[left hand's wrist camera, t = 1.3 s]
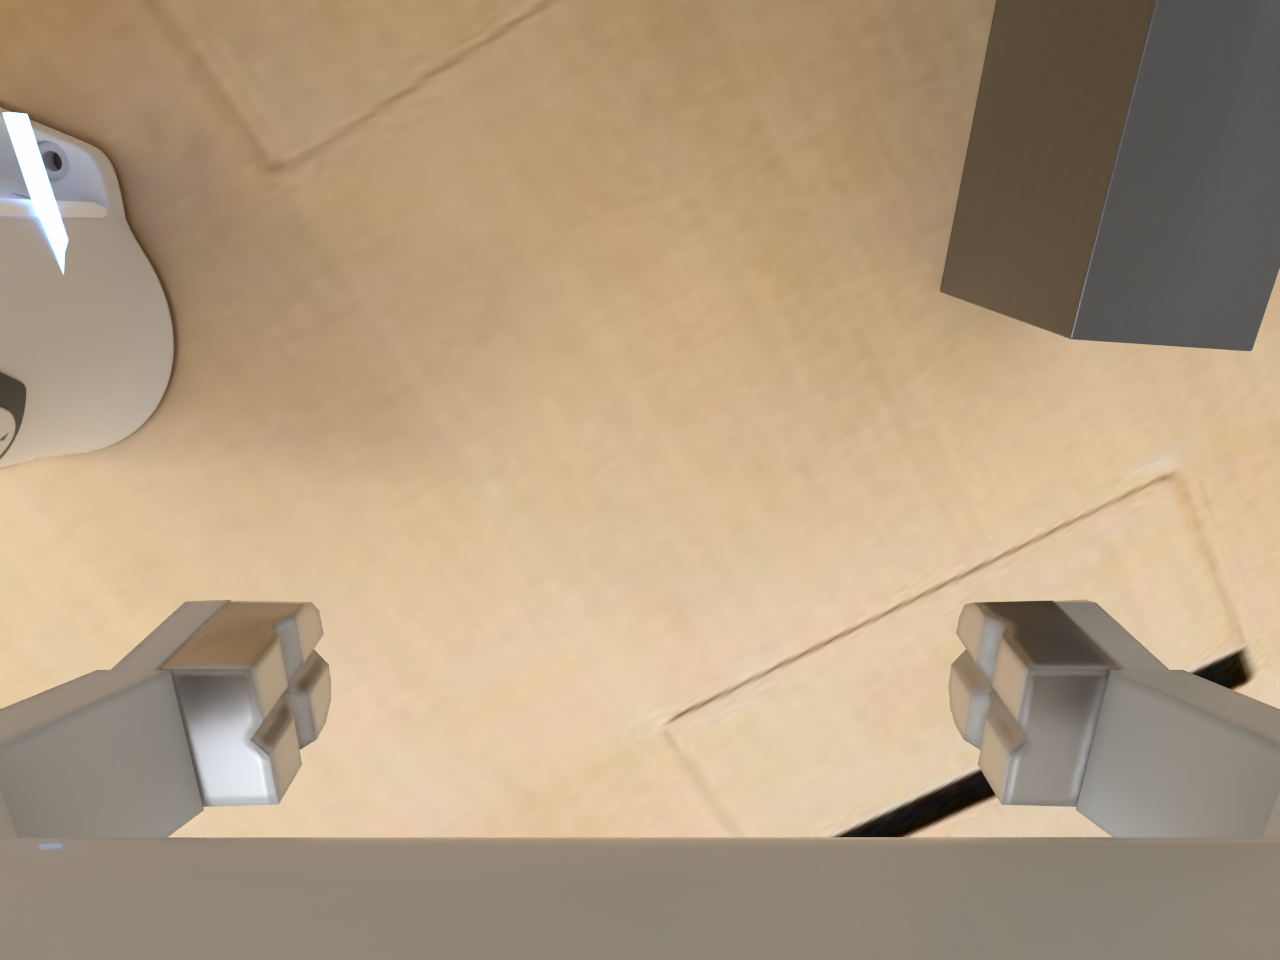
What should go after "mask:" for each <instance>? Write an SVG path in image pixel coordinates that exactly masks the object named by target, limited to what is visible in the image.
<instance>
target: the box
mask: <svg viewBox="0 0 1280 960" xmlns="http://www.w3.org/2000/svg"><path fill="white" fill-rule="evenodd" d="M1279 268H1280V0H997V1H996V6H995V11H994V16H993V21H992V27H991V32H990V37H989V42H988V47H987V52H986V57H985V63H984V68H983V73H982V78H981V83H980V88H979V94H978V99H977V104H976V109H975V114H974V119H973V124H972V130H971V135H970V140H969V145H968V150H967V155H966V161H965V166H964V171H963V176H962V181H961V186H960V192H959V197H958V202H957V207H956V212H955V217H954V222H953V228H952V233H951V238H950V243H949V248H948V253H947V259H946V264H945V269H944V274H943V279H942V284H941V289H940V292H942V293H945V294H948V295H950V296H953V297H956V298H959V299H961V300H964V301H967V302H970V303H973V304H975V305H978V306H981V307H984V308H986V309H989V310H992V311H995V312H997V313H1000V314H1003V315H1006V316H1008V317H1011V318H1014V319H1017V320H1020V321H1022V322H1025V323H1028V324H1031V325H1033V326H1036V327H1039V328H1042V329H1044V330H1047V331H1050V332H1053V333H1055V334H1058V335H1061V336H1064V337H1067V338H1069V339H1076V340H1091V341H1106V342H1121V343H1136V344H1150V345H1165V346H1180V347H1195V348H1210V349H1225V350H1240V351H1251V350H1252V349H1253V346H1254V343H1255V340H1256V337H1257V334H1258V331H1259V328H1260V325H1261V322H1262V319H1263V316H1264V313H1265V310H1266V307H1267V304H1268V301H1269V298H1270V295H1271V292H1272V289H1273V286H1274V283H1275V280H1276V277H1277V274H1278V271H1279Z"/></svg>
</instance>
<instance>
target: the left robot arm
mask: <svg viewBox="0 0 1280 960" xmlns="http://www.w3.org/2000/svg"><path fill="white" fill-rule="evenodd" d="M55 153H57V154H58V155H59V156H60V158H61V161H62V167H61V169H60V170H59V169H58V168H57V167H56V166H55V164H54V161H53V158H54V155H55ZM173 357H174V335H173V326H172V319H171V315H170V310H169V306H168V303H167V300H166V297H165V294H164V291H163V288H162V286H161V283H160V281H159V279H158V277H157V275H156V273H155V271H154V269H153V267H152V265H151V263H150V262H149V260H148V258H147V257H146V255H145V253H144V252H143V250H142V248H141V247H140V245H139V244H138V242H137V240H136V239H135V237H134V235H133V233H132V231H131V229H130V227H129V225H128V222H127V220H126V216H125V210H124V205H123V200H122V195H121V190H120V186H119V182H118V179H117V176H116V173H115V170H114V168H113V165H112V163H111V162H110V160H109V159H108V157H107V156H106V155H105V154H104V153H103V152H102V151H101V150H100V149H98V148H97V147H95V146H93V145H91V144H89V143H86V142H84V141H82V140H79V139H77V138H74V137H72V136H69V135H67V134H65V133H62V132H60V131H57V130H55V129H52V128H50V127H48V126H45V125H43V124H40V123H38V122H36V121H33V120H31V119H29V118H28V115H27V114H23V113H14V112H11V111H9V110H6V109H4V108H2V107H0V467H4V466H8V465H12V464H17V463H22V462H26V461H31V460H36V459H41V458H47V457H54V456H61V455H72V454H80V453H87V452H92V451H96V450H100V449H103V448H106V447H108V446H111V445H114V444H116V443H118V442H120V441H122V440H123V439H125V438H127V437H128V436H130V435H131V434H132V433H134V432H135V431H136V430H138V429H139V428H140V427H141V426H142V425H143V424H144V423H145V422H146V421H147V420H148V419H149V418H150V416H151V415H152V414H153V412H154V411H155V410H156V408H157V406H158V405H159V403H160V401H161V400H162V398H163V396H164V393H165V391H166V388H167V386H168V383H169V379H170V375H171V371H172V365H173ZM323 634H324V633H323V628H322V623H321V618H320V613H319V610H318V609H317V608H316V607H315V606H314V604H313V603H312V602H268V601H230V600H210V601H191V602H185V603H183V604H182V605H181V606H180V607H179V608H178V609H177V610H176V611H175V612H174V613H173V614H171V615H170V616H169V617H168V618H167V619H166V620H165V621H164V622H163V623H162V624H160V625H159V626H158V627H157V628H156V629H155V630H154V631H153V632H152V633H151V634H149V635H148V636H147V637H146V638H145V639H144V640H143V641H142V642H141V643H140V644H139V645H137V646H136V647H135V648H134V649H133V650H132V651H131V652H130V653H129V654H128V655H126V656H125V657H124V658H123V659H122V660H121V661H120V662H119V663H118V664H117V665H115V666H114V667H113V668H112V669H111V670H96V671H94V672H91V673H89V674H86V675H84V676H81V677H79V678H76V679H74V680H72V681H69V682H67V683H64V684H62V685H59V686H57V687H54V688H52V689H49V690H47V691H44V692H42V693H40V694H37V695H35V696H32V697H30V698H27V699H25V700H22V701H20V702H17V703H15V704H12V705H10V706H7V707H5V708H3V709H0V960H1280V709H1277V708H1275V707H1272V706H1270V705H1267V704H1265V703H1262V702H1260V701H1258V700H1255V699H1253V698H1250V697H1248V696H1245V695H1243V694H1240V693H1238V692H1235V691H1233V690H1231V689H1228V688H1226V687H1223V686H1221V685H1218V684H1216V683H1213V682H1211V681H1208V680H1206V679H1203V678H1201V677H1199V676H1196V675H1194V674H1191V673H1189V672H1186V671H1184V670H1169V669H1168V668H1167V667H1166V666H1165V665H1163V664H1162V663H1161V662H1160V661H1159V660H1158V659H1157V658H1156V657H1155V656H1154V655H1153V654H1151V653H1150V652H1149V651H1148V650H1147V649H1146V648H1145V647H1144V646H1143V645H1142V644H1141V643H1139V642H1138V641H1137V640H1136V639H1135V638H1134V637H1133V636H1132V635H1131V634H1130V633H1129V632H1127V631H1126V630H1125V629H1124V628H1123V627H1122V626H1121V625H1120V624H1119V623H1118V622H1116V621H1115V620H1114V619H1113V618H1112V617H1111V616H1110V615H1109V614H1108V613H1107V612H1106V611H1104V610H1103V609H1102V608H1101V607H1100V606H1099V605H1098V604H1097V603H1094V602H1091V601H1088V600H1070V601H1021V602H979V603H969V604H965V605H964V607H963V610H962V612H961V614H960V616H959V622H958V628H957V633H956V634H957V636H958V637H959V639H960V640H961V642H962V643H963V645H964V646H965V648H966V650H965V651H964V652H963V653H962V654H961V655H960V656H959V657H958V658H957V659H956V660H955V661H954V663H953V664H952V665H951V673H950V681H949V697H950V707H951V712H952V715H953V718H954V721H955V725H956V727H957V728H958V730H959V732H960V734H961V736H962V738H963V739H964V740H965V741H967V742H969V743H970V744H972V745H973V746H975V747H977V748H978V749H980V756H979V762H978V765H979V767H980V769H981V770H982V772H983V774H984V775H985V777H986V779H987V781H988V782H989V784H990V786H991V787H992V789H993V791H994V792H995V794H996V796H997V797H998V799H999V801H1000V803H1001V804H1002V805H1035V806H1072V807H1077V808H1076V810H1077V811H1078V812H1080V813H1081V814H1082V815H1084V816H1085V817H1086V818H1088V819H1089V820H1090V821H1092V822H1093V823H1094V824H1096V825H1097V826H1098V827H1100V828H1101V829H1102V830H1104V831H1105V832H1106V833H1108V834H1109V835H1110V836H1112V837H1038V838H1037V837H1036V838H167V837H168V836H170V835H171V834H172V833H174V832H175V831H176V830H178V829H179V828H181V827H182V826H183V825H185V824H186V823H187V822H189V821H190V820H191V819H193V818H194V817H195V816H197V815H198V814H199V813H201V812H202V811H203V807H208V806H243V805H278V804H279V803H280V801H281V799H282V798H283V796H284V794H285V792H286V791H287V789H288V787H289V786H290V784H291V782H292V781H293V779H294V777H295V775H296V774H297V772H298V770H299V769H300V767H301V765H302V762H301V756H300V749H302V748H303V747H305V746H307V745H308V744H310V743H311V742H313V741H315V740H316V739H317V737H318V736H319V734H320V732H321V730H322V728H323V726H324V725H325V722H326V718H327V714H328V710H329V706H330V702H331V678H330V671H329V665H328V664H327V662H326V661H325V660H324V659H323V658H322V657H321V656H320V655H319V654H318V653H317V652H316V651H315V650H314V648H315V646H316V645H317V643H318V642H319V640H320V639H321V637H322V636H323Z"/></svg>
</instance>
